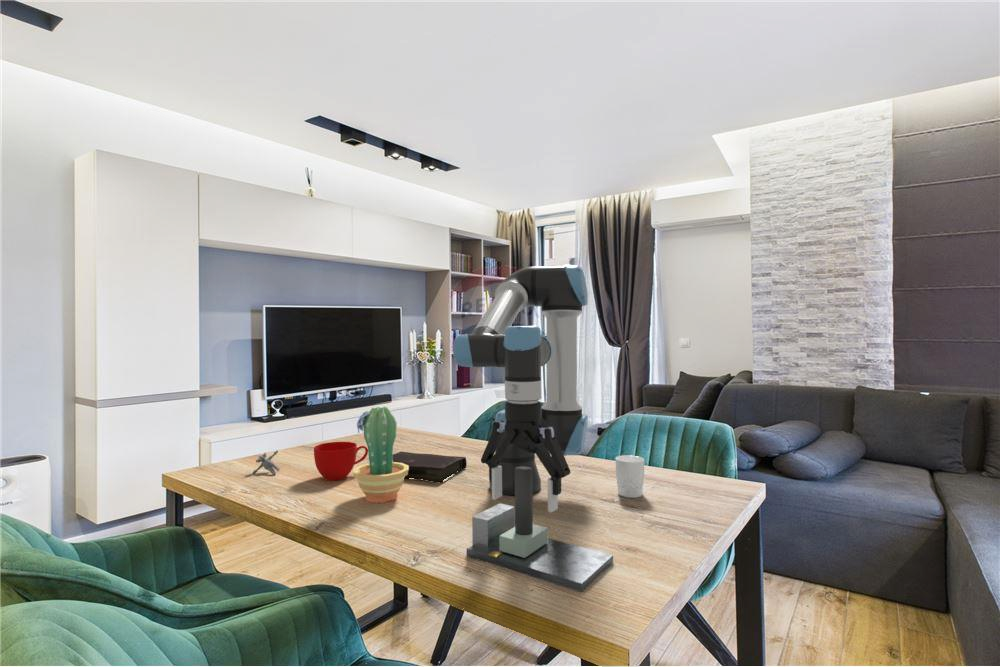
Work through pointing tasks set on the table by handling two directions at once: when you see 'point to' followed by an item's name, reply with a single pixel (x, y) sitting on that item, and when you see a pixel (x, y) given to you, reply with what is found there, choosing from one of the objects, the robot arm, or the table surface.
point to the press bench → (535, 553)
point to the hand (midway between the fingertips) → (524, 503)
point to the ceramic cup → (336, 459)
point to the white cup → (630, 475)
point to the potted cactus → (380, 457)
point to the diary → (430, 465)
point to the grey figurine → (267, 463)
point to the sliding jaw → (523, 520)
